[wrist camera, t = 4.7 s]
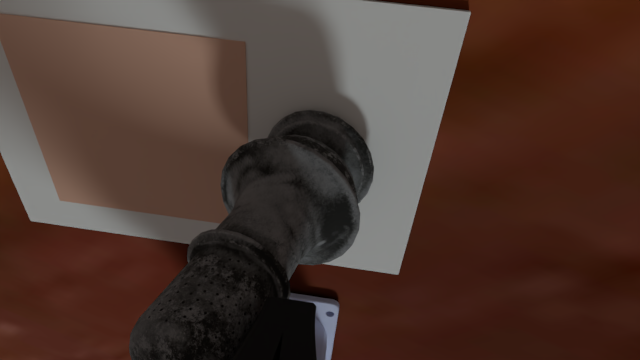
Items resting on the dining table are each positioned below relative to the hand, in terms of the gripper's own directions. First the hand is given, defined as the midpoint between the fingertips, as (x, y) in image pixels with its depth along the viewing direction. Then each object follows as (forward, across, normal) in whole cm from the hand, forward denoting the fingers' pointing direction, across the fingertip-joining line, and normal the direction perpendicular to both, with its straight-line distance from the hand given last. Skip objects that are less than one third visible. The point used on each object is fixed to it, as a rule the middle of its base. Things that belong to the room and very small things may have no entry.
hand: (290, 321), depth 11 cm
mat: (+9, +6, 0) cm, 11 cm away
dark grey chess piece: (+9, 0, 0) cm, 9 cm away
